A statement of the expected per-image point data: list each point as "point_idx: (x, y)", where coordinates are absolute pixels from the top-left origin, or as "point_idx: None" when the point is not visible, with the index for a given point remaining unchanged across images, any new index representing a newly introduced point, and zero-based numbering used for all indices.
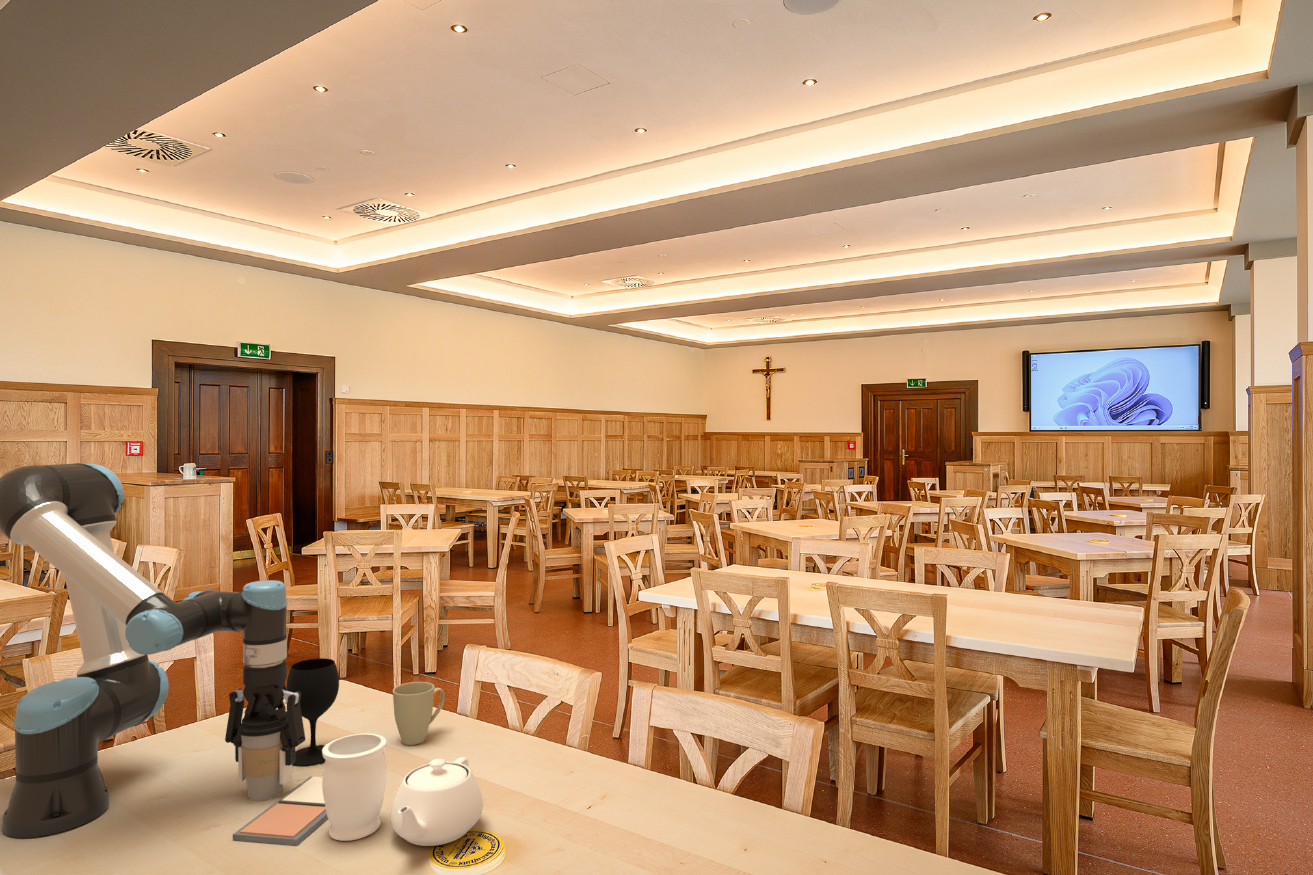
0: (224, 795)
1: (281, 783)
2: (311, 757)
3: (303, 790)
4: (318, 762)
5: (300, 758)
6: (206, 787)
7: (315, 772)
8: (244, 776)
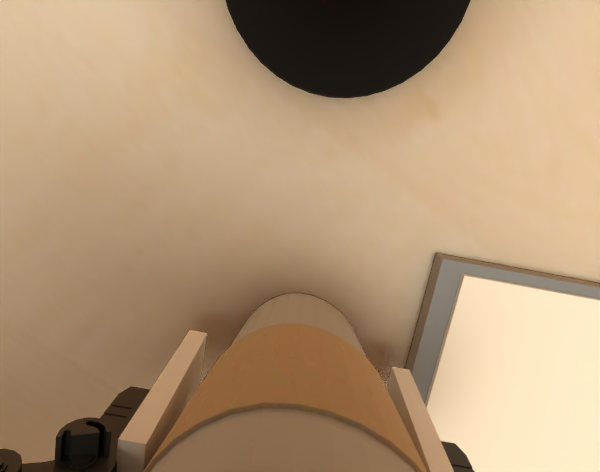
0: (146, 351)
1: None
2: (364, 24)
3: (465, 394)
4: (414, 70)
5: (308, 31)
6: (31, 284)
7: (427, 162)
8: (197, 383)
